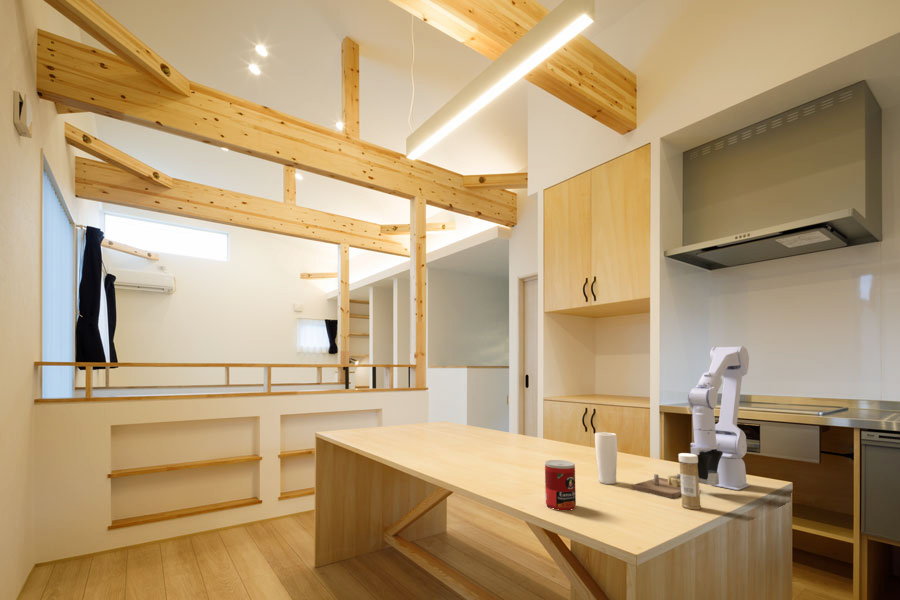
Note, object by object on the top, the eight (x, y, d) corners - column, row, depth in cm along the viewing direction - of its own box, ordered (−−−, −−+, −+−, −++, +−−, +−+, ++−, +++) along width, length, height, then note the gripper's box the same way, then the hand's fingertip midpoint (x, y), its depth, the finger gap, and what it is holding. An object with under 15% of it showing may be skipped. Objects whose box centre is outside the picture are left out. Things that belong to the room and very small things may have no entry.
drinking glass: (621, 481, 146) (619, 433, 148) (616, 486, 141) (614, 435, 143) (599, 478, 150) (597, 431, 152) (593, 483, 144) (592, 434, 146)
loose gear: (702, 479, 138) (702, 468, 138) (721, 483, 134) (720, 471, 134) (694, 482, 134) (694, 470, 135) (713, 485, 130) (712, 474, 131)
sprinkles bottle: (704, 508, 120) (701, 454, 122) (695, 511, 117) (691, 456, 119) (687, 503, 124) (684, 452, 125) (677, 506, 121) (674, 453, 123)
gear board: (659, 481, 148) (658, 467, 148) (698, 489, 138) (697, 474, 139) (632, 489, 138) (631, 474, 138) (672, 498, 128) (671, 482, 129)
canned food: (559, 512, 115) (558, 467, 117) (539, 504, 122) (538, 461, 124) (582, 508, 119) (581, 464, 120) (561, 500, 126) (560, 458, 127)
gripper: (701, 425, 144) (704, 471, 142) (678, 429, 135) (681, 478, 133) (725, 428, 138) (729, 475, 136) (704, 432, 129) (707, 483, 127)
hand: (707, 477), depth 134 cm, fingers closed on loose gear, 5 cm apart
